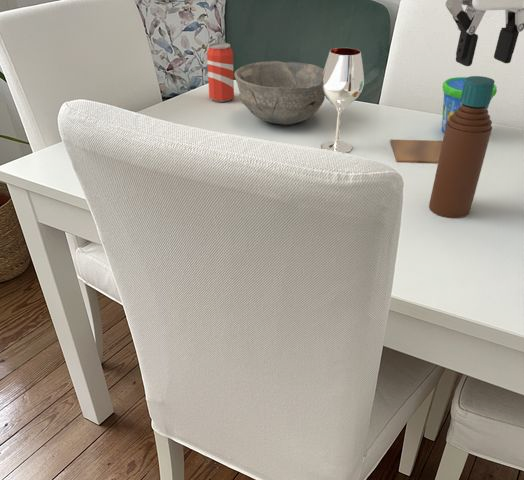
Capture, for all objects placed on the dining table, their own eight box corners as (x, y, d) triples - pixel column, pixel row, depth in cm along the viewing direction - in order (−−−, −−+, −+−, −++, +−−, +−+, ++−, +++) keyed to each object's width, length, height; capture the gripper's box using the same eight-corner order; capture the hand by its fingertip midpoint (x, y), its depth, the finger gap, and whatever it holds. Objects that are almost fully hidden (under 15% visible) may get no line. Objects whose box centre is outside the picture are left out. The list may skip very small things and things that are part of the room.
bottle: (458, 198, 100) (488, 75, 87) (477, 216, 95) (512, 89, 82) (422, 201, 99) (447, 78, 86) (439, 219, 94) (468, 91, 81)
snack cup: (493, 147, 118) (507, 96, 111) (441, 146, 118) (452, 95, 111) (474, 121, 129) (486, 73, 123) (428, 120, 130) (437, 72, 123)
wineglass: (317, 139, 120) (323, 45, 109) (355, 141, 120) (366, 46, 108) (315, 154, 114) (322, 56, 103) (356, 156, 114) (368, 57, 102)
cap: (480, 98, 87) (485, 75, 85) (494, 106, 84) (500, 83, 82) (455, 99, 87) (460, 76, 85) (468, 108, 84) (473, 84, 81)
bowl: (266, 143, 119) (267, 92, 112) (218, 114, 132) (216, 68, 125) (344, 124, 127) (349, 77, 121) (291, 100, 140) (293, 55, 134)
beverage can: (238, 97, 142) (237, 44, 134) (224, 104, 138) (222, 49, 130) (218, 93, 144) (216, 40, 136) (204, 100, 140) (201, 46, 132)
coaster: (442, 142, 120) (443, 140, 119) (453, 163, 111) (453, 161, 111) (390, 141, 120) (390, 139, 120) (396, 161, 112) (396, 160, 111)
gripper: (559, -99, 75) (517, 52, 87) (444, -99, 71) (416, 59, 83) (600, -96, 69) (549, 65, 81) (478, -96, 65) (443, 73, 77)
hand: (482, 61), depth 82 cm, fingers open, 5 cm apart
